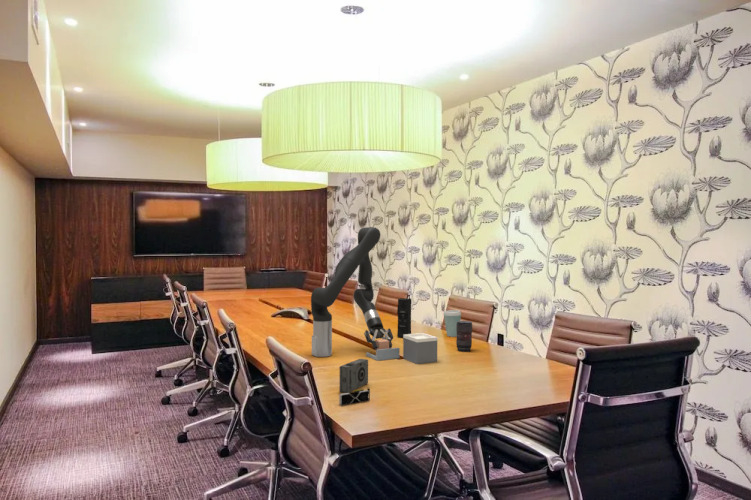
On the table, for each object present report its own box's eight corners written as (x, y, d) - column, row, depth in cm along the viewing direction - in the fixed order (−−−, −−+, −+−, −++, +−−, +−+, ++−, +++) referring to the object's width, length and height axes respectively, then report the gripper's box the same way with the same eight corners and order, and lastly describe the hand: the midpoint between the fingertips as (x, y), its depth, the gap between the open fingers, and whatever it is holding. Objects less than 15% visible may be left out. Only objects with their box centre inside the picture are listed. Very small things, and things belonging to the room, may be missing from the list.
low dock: (377, 360, 254) (377, 350, 253) (366, 355, 265) (366, 345, 264) (399, 358, 259) (399, 347, 259) (387, 353, 270) (387, 343, 270)
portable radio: (395, 337, 313) (395, 294, 313) (399, 335, 319) (399, 293, 318) (407, 338, 310) (407, 295, 309) (411, 337, 315) (412, 294, 315)
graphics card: (368, 401, 193) (366, 387, 194) (372, 401, 190) (370, 386, 191) (339, 405, 187) (337, 391, 188) (342, 405, 184) (341, 391, 185)
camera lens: (473, 352, 274) (473, 322, 273) (457, 352, 273) (457, 322, 273) (470, 348, 282) (470, 320, 281) (455, 348, 282) (455, 320, 281)
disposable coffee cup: (457, 338, 311) (457, 312, 311) (440, 336, 317) (440, 311, 317) (464, 335, 320) (464, 310, 320) (447, 333, 326) (447, 309, 326)
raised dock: (417, 364, 247) (417, 339, 247) (403, 358, 259) (403, 334, 258) (437, 361, 252) (437, 337, 252) (422, 356, 264) (422, 332, 263)
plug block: (380, 358, 259) (380, 341, 259) (375, 356, 263) (375, 340, 263) (389, 357, 261) (389, 341, 261) (384, 355, 265) (384, 339, 265)
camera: (346, 394, 199) (346, 367, 199) (337, 392, 201) (337, 366, 201) (368, 384, 213) (368, 358, 213) (359, 382, 215) (360, 357, 215)
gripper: (362, 317, 265) (372, 344, 255) (388, 315, 272) (399, 342, 261) (358, 326, 270) (368, 353, 260) (383, 324, 276) (394, 351, 266)
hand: (383, 348), depth 261 cm, fingers open, 7 cm apart
